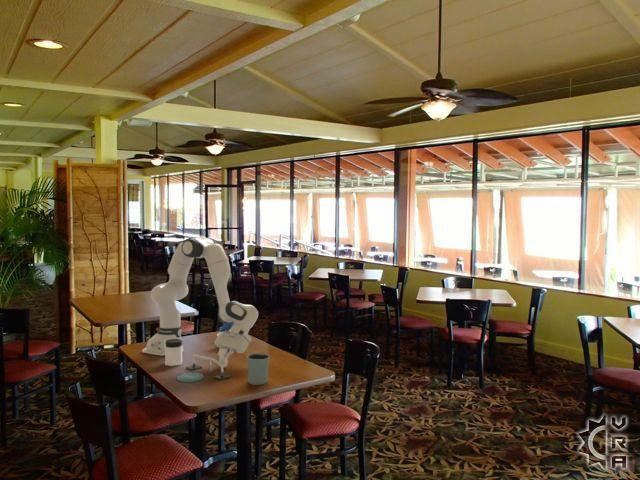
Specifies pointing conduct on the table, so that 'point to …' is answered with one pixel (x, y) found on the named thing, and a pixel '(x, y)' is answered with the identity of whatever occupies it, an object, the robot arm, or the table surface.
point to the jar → (173, 352)
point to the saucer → (190, 377)
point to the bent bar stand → (218, 377)
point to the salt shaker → (221, 356)
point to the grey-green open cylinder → (257, 368)
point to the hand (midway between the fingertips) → (222, 356)
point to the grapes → (226, 327)
